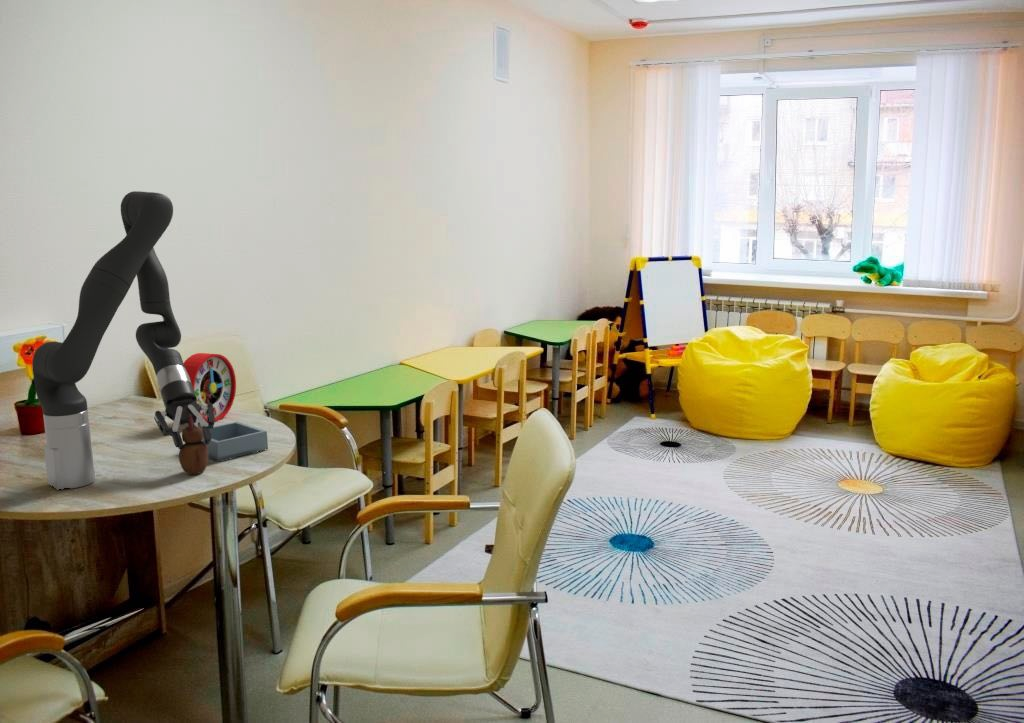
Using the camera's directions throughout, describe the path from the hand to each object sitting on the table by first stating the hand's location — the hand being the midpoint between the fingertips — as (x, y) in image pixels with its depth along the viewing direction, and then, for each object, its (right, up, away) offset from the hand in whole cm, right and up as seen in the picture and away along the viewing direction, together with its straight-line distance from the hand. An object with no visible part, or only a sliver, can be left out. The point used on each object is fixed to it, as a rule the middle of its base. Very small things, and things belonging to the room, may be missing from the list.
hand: (194, 444), depth 212 cm
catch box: (+1, -3, +21) cm, 21 cm away
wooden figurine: (-1, -7, +3) cm, 8 cm away
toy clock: (-14, +2, +52) cm, 54 cm away
